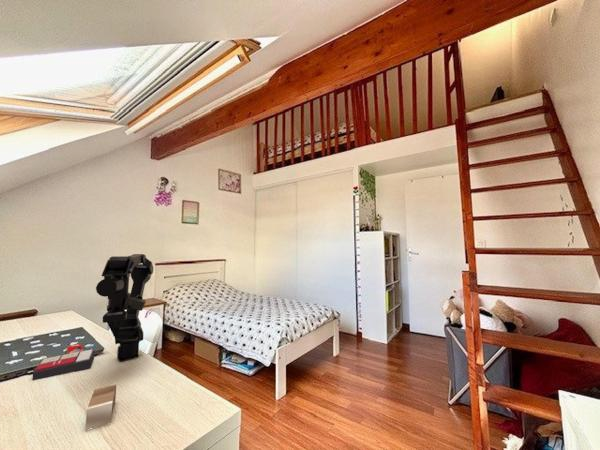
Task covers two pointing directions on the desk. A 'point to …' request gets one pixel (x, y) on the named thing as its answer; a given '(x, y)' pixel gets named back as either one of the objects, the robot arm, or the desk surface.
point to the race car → (74, 348)
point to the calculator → (64, 364)
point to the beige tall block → (101, 407)
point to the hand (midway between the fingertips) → (115, 336)
